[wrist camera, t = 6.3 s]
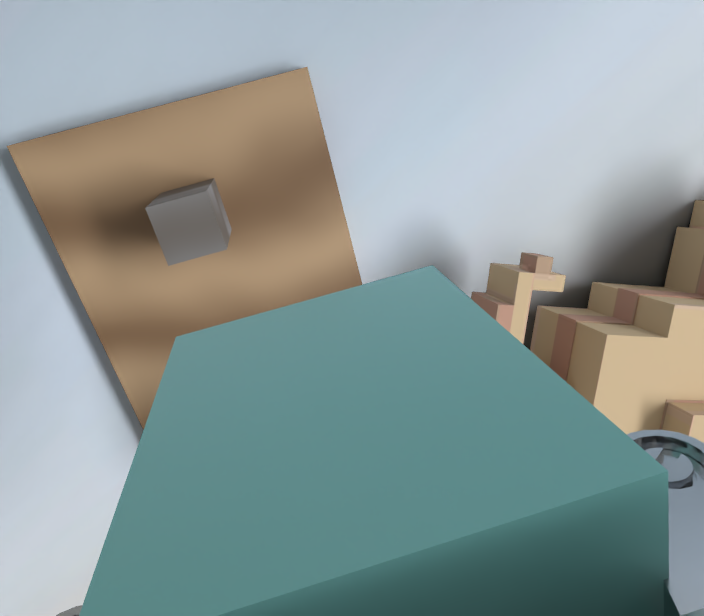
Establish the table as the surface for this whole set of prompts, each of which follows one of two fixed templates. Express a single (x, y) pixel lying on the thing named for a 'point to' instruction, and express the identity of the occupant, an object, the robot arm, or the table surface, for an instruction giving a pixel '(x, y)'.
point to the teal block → (380, 473)
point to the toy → (619, 336)
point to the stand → (192, 217)
